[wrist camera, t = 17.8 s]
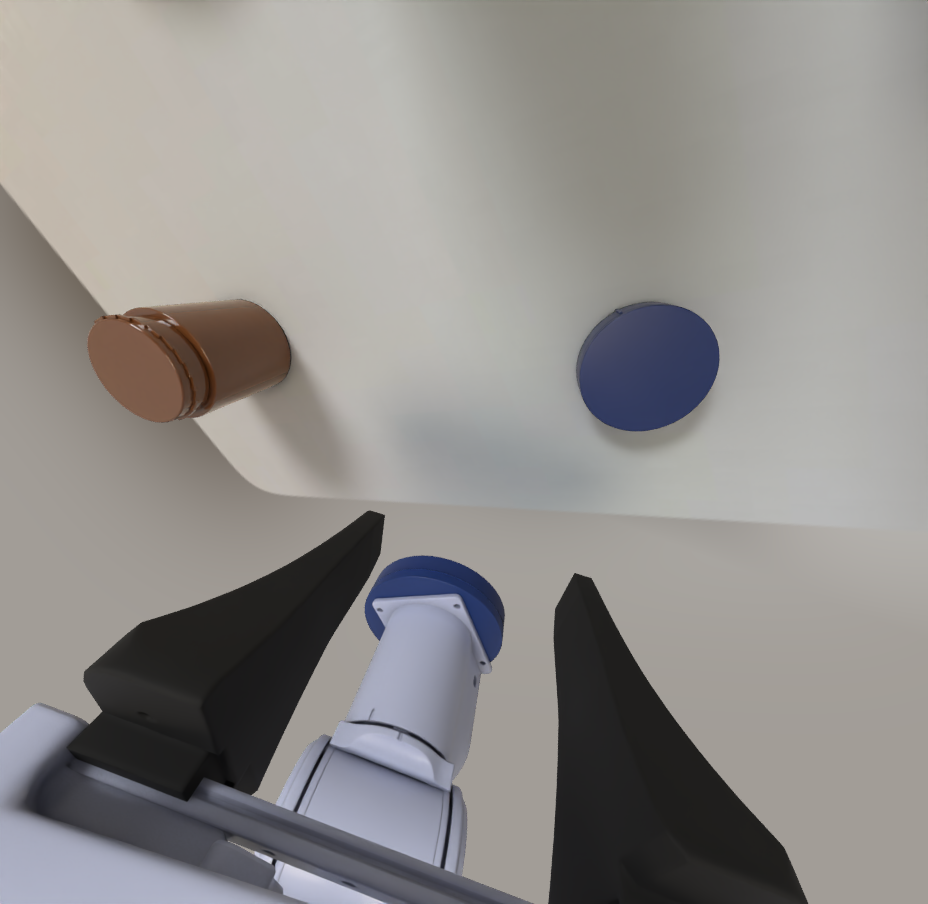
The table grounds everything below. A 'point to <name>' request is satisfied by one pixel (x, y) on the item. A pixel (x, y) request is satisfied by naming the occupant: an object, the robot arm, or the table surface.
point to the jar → (187, 357)
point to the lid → (647, 366)
